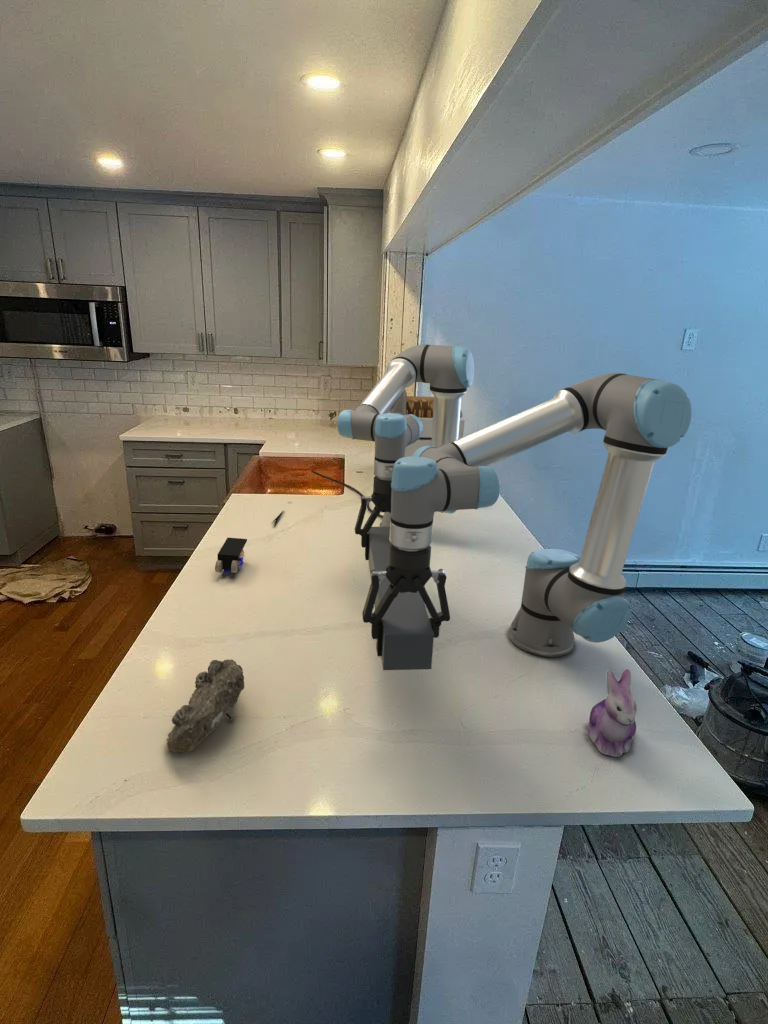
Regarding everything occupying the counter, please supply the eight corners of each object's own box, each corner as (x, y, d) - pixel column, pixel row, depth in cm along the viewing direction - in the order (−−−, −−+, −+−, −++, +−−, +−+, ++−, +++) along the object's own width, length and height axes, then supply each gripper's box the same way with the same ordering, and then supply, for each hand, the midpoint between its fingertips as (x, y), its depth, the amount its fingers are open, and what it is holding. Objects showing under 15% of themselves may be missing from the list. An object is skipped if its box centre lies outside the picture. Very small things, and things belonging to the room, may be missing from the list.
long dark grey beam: (367, 552, 154) (368, 526, 152) (399, 552, 155) (401, 526, 153) (383, 670, 104) (384, 634, 101) (431, 669, 105) (434, 634, 102)
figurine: (615, 767, 100) (631, 697, 95) (572, 730, 109) (585, 664, 103) (651, 751, 104) (668, 682, 99) (607, 716, 113) (621, 652, 108)
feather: (290, 505, 227) (293, 501, 226) (273, 528, 200) (276, 524, 200) (286, 502, 226) (289, 498, 226) (269, 525, 200) (272, 521, 199)
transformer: (382, 463, 289) (386, 382, 275) (445, 464, 293) (451, 384, 279) (390, 482, 257) (394, 392, 243) (460, 483, 261) (468, 394, 247)
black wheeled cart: (238, 584, 162) (249, 557, 175) (236, 562, 158) (247, 536, 172) (215, 584, 161) (227, 556, 175) (212, 561, 158) (225, 535, 171)
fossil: (192, 660, 117) (244, 628, 112) (224, 691, 120) (276, 661, 115) (142, 746, 98) (202, 712, 93) (182, 779, 101) (242, 748, 96)
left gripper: (345, 480, 138) (344, 564, 145) (434, 481, 140) (427, 563, 148) (344, 471, 145) (343, 552, 152) (428, 472, 147) (423, 551, 155)
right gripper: (350, 552, 97) (348, 664, 104) (475, 552, 99) (463, 661, 106) (348, 535, 104) (346, 641, 111) (465, 535, 106) (455, 639, 113)
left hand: (385, 557), depth 150 cm, fingers closed on long dark grey beam, 9 cm apart
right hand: (404, 651), depth 109 cm, fingers closed on long dark grey beam, 9 cm apart
